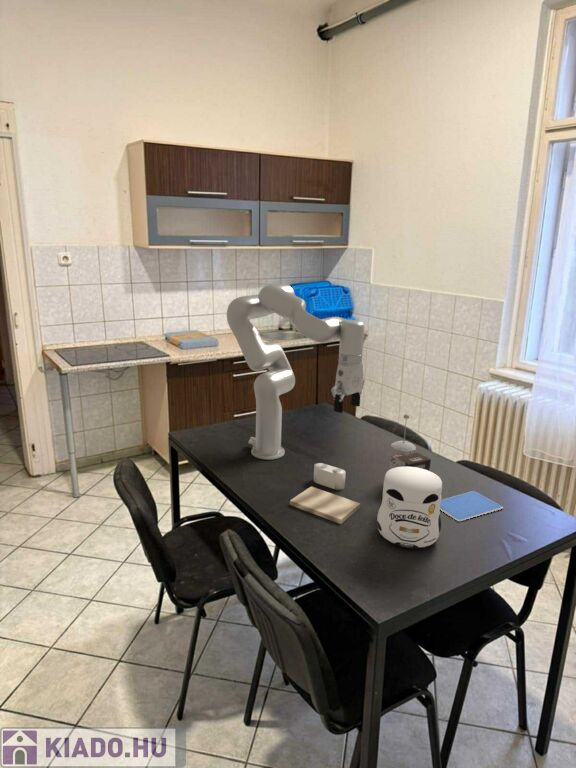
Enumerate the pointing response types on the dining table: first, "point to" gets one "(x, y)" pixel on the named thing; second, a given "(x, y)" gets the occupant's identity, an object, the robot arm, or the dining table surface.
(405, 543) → the doce de leite jar
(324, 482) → the rounded block
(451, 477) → the dining table surface
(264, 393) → the robot arm
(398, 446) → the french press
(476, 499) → the blue flat pad
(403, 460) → the coffee box
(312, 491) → the birch board
